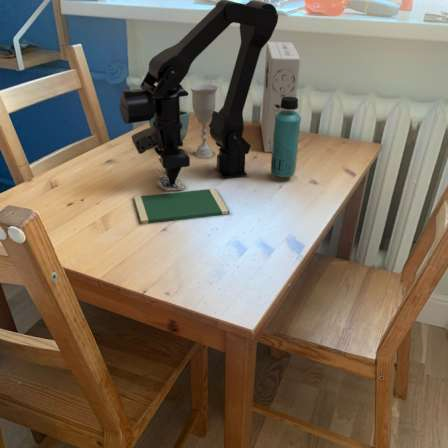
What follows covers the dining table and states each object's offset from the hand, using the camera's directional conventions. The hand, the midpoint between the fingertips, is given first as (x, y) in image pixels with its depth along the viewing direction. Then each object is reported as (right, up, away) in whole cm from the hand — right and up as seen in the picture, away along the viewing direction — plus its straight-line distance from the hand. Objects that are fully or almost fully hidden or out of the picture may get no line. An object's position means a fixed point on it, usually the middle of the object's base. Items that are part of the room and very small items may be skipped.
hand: (170, 181), depth 120 cm
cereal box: (+29, +19, +28) cm, 45 cm away
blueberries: (0, -1, +1) cm, 1 cm away
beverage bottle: (+28, +2, +6) cm, 29 cm away
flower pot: (-3, +16, +23) cm, 28 cm away
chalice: (+8, +12, +17) cm, 22 cm away
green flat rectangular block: (+3, -8, -9) cm, 12 cm away
